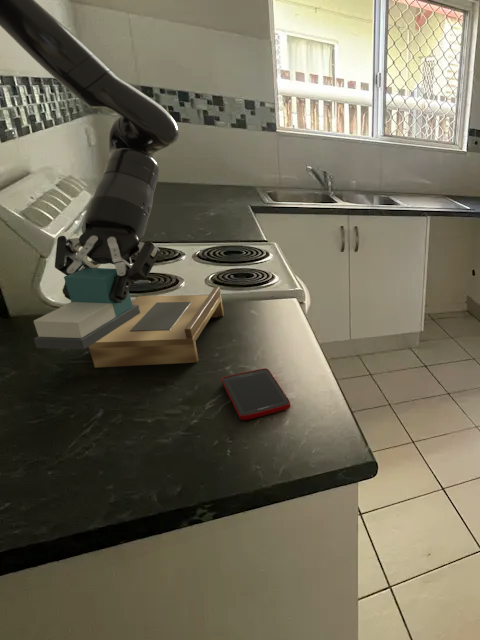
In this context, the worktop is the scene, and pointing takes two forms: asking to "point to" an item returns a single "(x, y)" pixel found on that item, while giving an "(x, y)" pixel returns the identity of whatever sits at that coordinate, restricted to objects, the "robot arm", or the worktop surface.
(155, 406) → the worktop surface
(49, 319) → the trainer
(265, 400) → the cell phone
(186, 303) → the shoe shelf
